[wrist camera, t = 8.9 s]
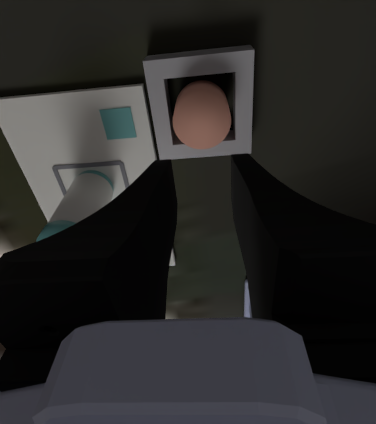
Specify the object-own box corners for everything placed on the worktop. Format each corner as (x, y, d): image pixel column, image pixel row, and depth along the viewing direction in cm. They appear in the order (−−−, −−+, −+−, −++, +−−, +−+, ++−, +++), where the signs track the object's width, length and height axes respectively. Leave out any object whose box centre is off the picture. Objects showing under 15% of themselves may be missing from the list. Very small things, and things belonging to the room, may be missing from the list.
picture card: (175, 261, 28) (175, 266, 28) (73, 266, 29) (71, 270, 28) (143, 83, 18) (141, 86, 18) (-9, 98, 19) (-14, 101, 19)
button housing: (247, 142, 20) (251, 153, 19) (162, 149, 21) (159, 160, 20) (250, 44, 17) (254, 49, 16) (146, 55, 17) (142, 61, 16)
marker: (119, 201, 23) (97, 267, 18) (80, 204, 23) (47, 269, 18) (110, 167, 21) (82, 228, 16) (68, 169, 22) (27, 230, 16)
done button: (228, 130, 19) (231, 147, 17) (178, 134, 19) (176, 151, 17) (227, 77, 17) (230, 89, 15) (172, 83, 17) (168, 95, 15)
